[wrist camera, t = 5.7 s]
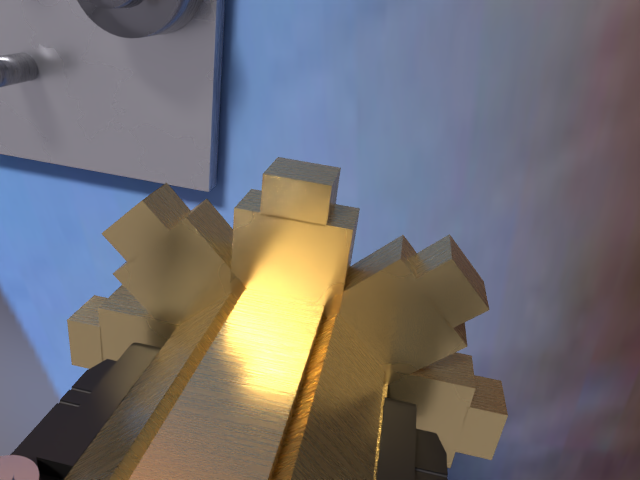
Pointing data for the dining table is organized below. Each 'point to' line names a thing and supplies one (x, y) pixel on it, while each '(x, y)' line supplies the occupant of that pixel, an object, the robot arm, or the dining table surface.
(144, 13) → the plate
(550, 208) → the dining table surface
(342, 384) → the planet gear
